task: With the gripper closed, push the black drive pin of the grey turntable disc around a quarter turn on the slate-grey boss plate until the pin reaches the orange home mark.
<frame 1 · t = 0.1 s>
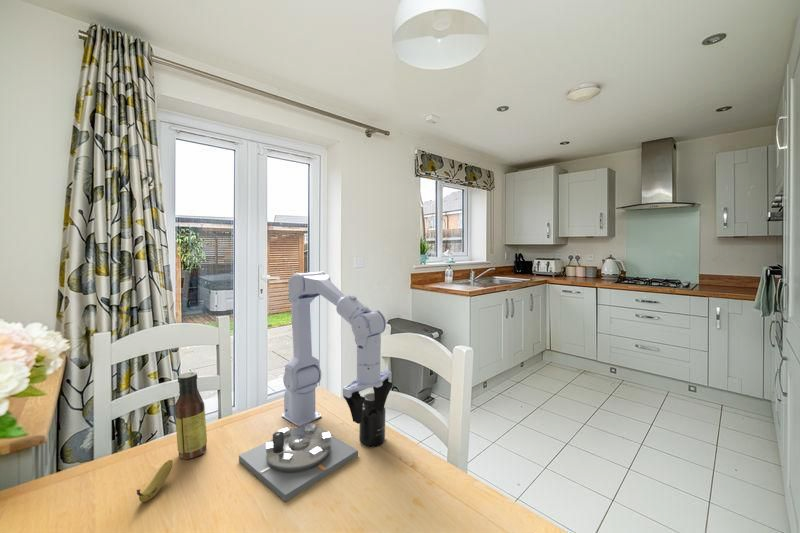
hand: (368, 416, 85), 10 cm above the table, tool pointing down, fingers open, 7 cm apart
grey turntable disc: (299, 438, 84), point 5 cm above the table, hinge at 0.0°
supplement bottle: (372, 441, 92), on the table
boss plate: (299, 458, 84), on the table
banana: (156, 492, 73), on the table
sauce bottle: (192, 453, 86), on the table
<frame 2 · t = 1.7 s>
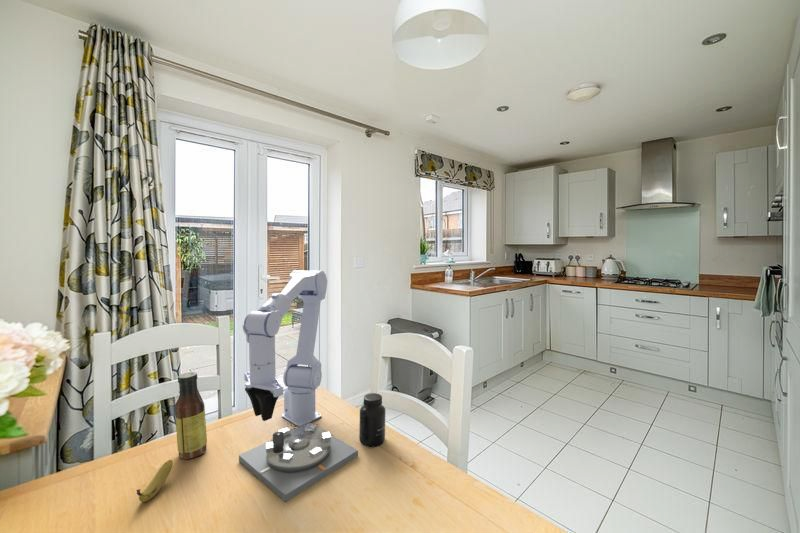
hand: (263, 416, 83), 10 cm above the table, tool pointing down, fingers open, 3 cm apart
nothing on the table moved.
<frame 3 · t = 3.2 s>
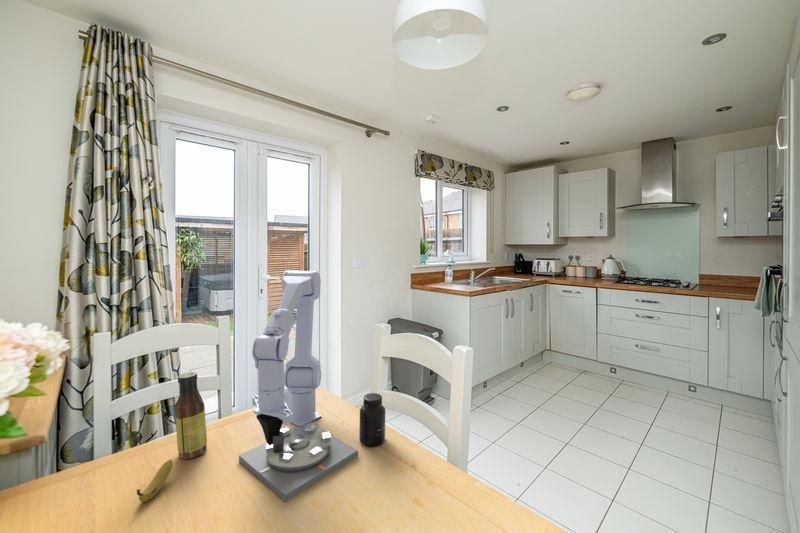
hand: (272, 442, 81), 5 cm above the table, tool pointing down, fingers closed
grey turntable disc: (299, 438, 84), point 5 cm above the table, hinge at 0.0°, touching gripper
everything else where it was.
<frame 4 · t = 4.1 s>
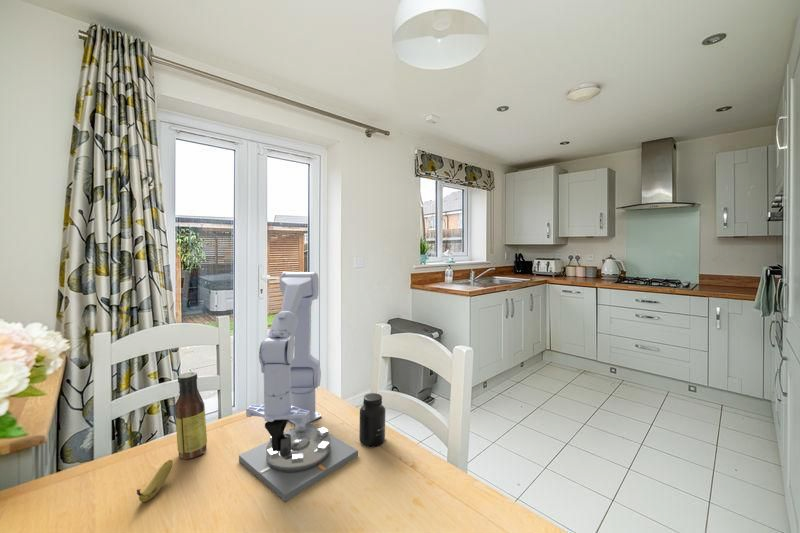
hand: (278, 448, 79), 5 cm above the table, tool pointing down, fingers closed, pressing on grey turntable disc
grey turntable disc: (299, 438, 84), point 5 cm above the table, hinge at 23.5°, touching gripper
everything else where it was.
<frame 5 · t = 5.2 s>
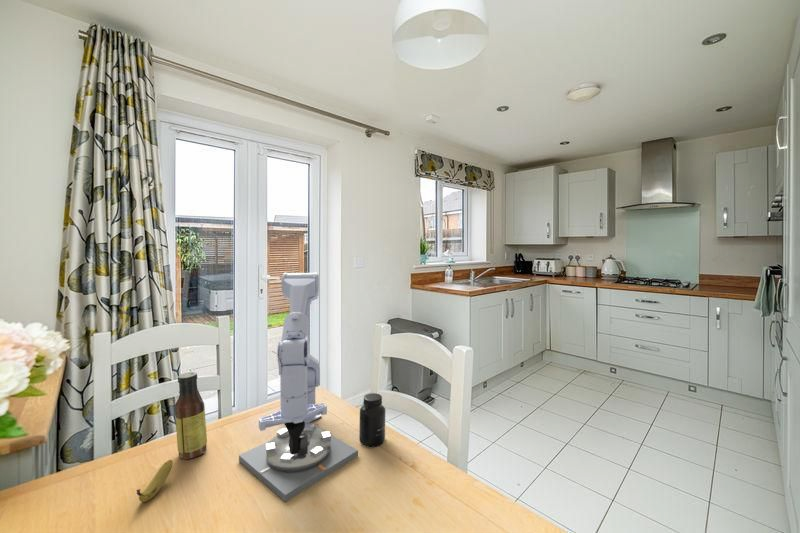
hand: (294, 451, 78), 5 cm above the table, tool pointing down, fingers closed, pressing on grey turntable disc
grey turntable disc: (299, 438, 84), point 5 cm above the table, hinge at 63.4°, touching gripper
everything else where it was.
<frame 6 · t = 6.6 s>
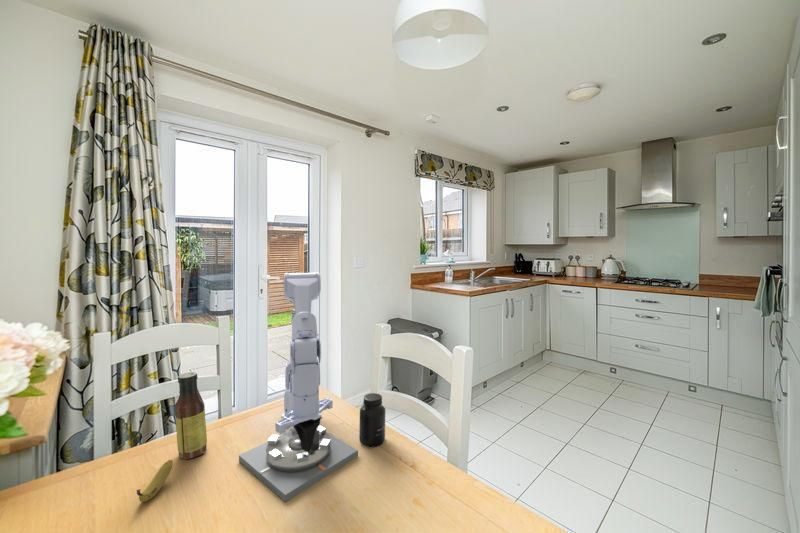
hand: (306, 449, 78), 5 cm above the table, tool pointing down, fingers closed
grey turntable disc: (299, 438, 84), point 5 cm above the table, hinge at 92.9°, touching gripper
everything else where it was.
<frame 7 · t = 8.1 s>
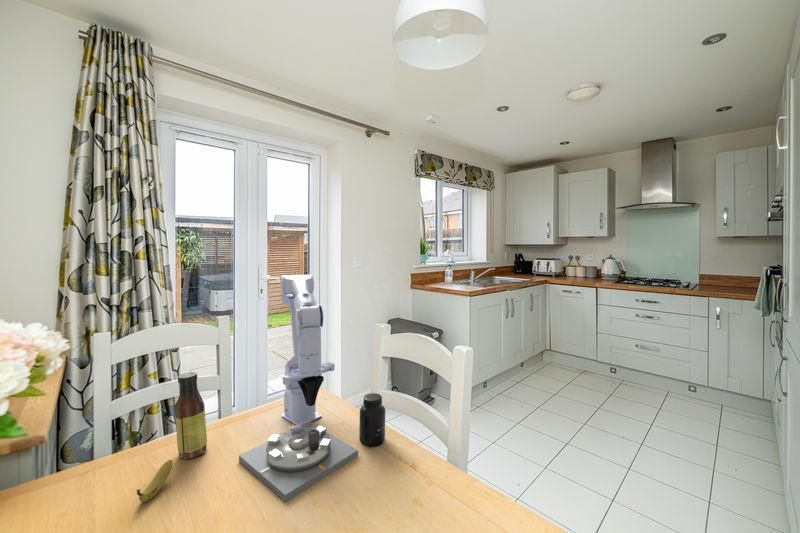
hand: (310, 404, 90), 10 cm above the table, tool pointing down, fingers closed
grey turntable disc: (299, 438, 84), point 5 cm above the table, hinge at 93.1°
everything else where it was.
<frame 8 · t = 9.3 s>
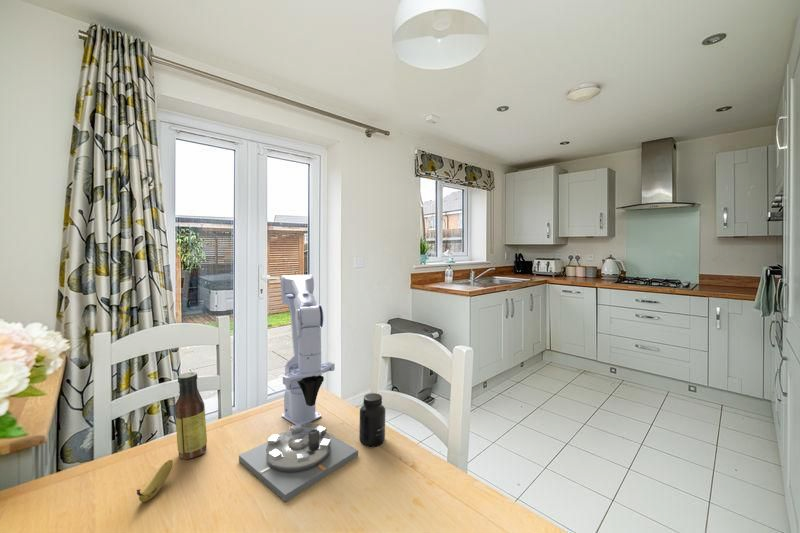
hand: (310, 404, 90), 10 cm above the table, tool pointing down, fingers closed
nothing on the table moved.
at the end: grey turntable disc at +93° (first picture: +0°); supplement bottle moved 0.2 cm from its start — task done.
